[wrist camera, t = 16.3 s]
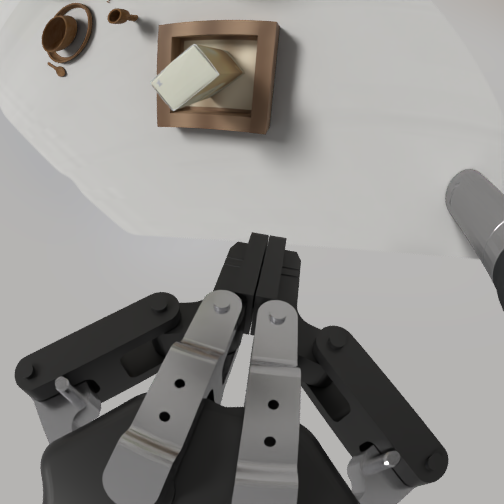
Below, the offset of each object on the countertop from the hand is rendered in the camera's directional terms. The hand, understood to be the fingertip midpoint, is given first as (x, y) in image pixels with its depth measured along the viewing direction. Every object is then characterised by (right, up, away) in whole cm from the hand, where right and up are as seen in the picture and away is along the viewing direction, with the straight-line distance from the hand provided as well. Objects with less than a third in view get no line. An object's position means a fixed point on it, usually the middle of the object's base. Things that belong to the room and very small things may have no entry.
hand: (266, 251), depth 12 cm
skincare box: (-5, +24, +19) cm, 31 cm away
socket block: (-5, +24, +20) cm, 32 cm away
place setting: (-29, +36, +17) cm, 49 cm away
